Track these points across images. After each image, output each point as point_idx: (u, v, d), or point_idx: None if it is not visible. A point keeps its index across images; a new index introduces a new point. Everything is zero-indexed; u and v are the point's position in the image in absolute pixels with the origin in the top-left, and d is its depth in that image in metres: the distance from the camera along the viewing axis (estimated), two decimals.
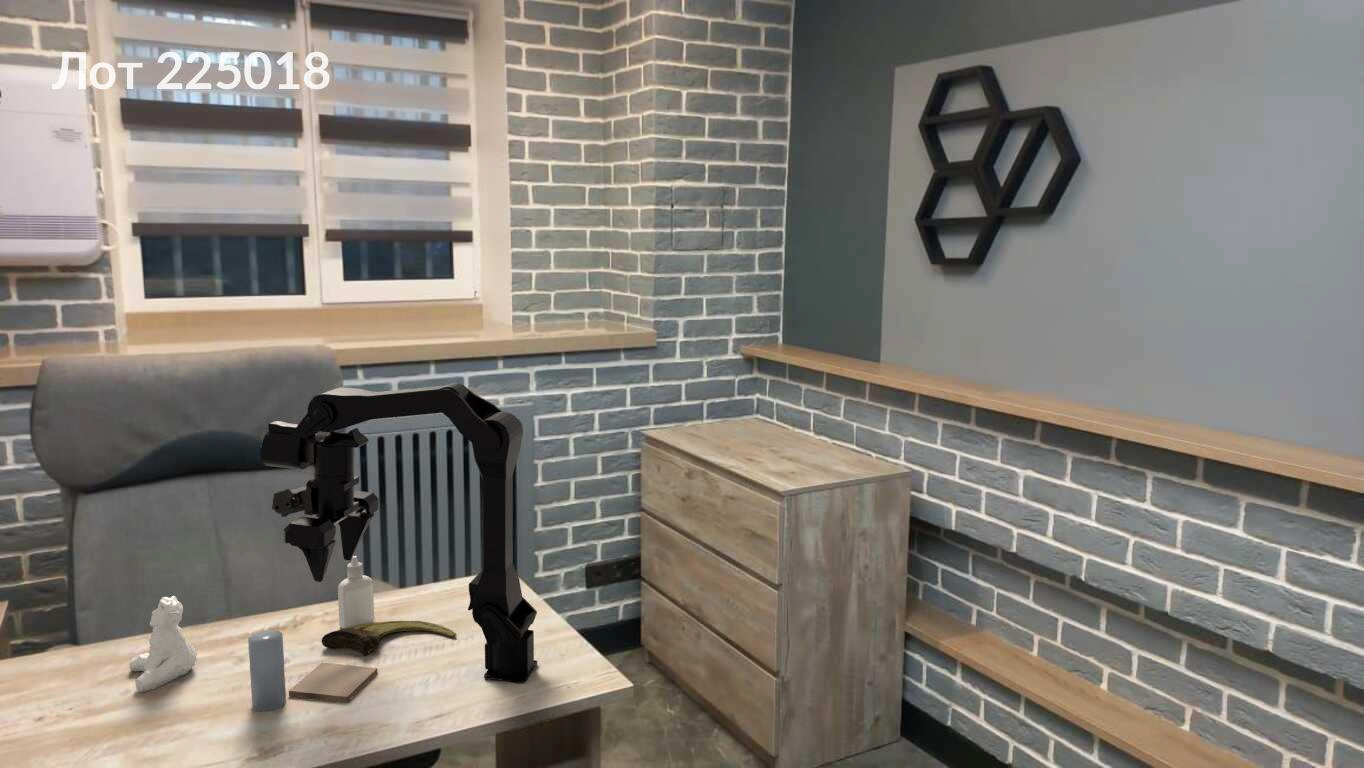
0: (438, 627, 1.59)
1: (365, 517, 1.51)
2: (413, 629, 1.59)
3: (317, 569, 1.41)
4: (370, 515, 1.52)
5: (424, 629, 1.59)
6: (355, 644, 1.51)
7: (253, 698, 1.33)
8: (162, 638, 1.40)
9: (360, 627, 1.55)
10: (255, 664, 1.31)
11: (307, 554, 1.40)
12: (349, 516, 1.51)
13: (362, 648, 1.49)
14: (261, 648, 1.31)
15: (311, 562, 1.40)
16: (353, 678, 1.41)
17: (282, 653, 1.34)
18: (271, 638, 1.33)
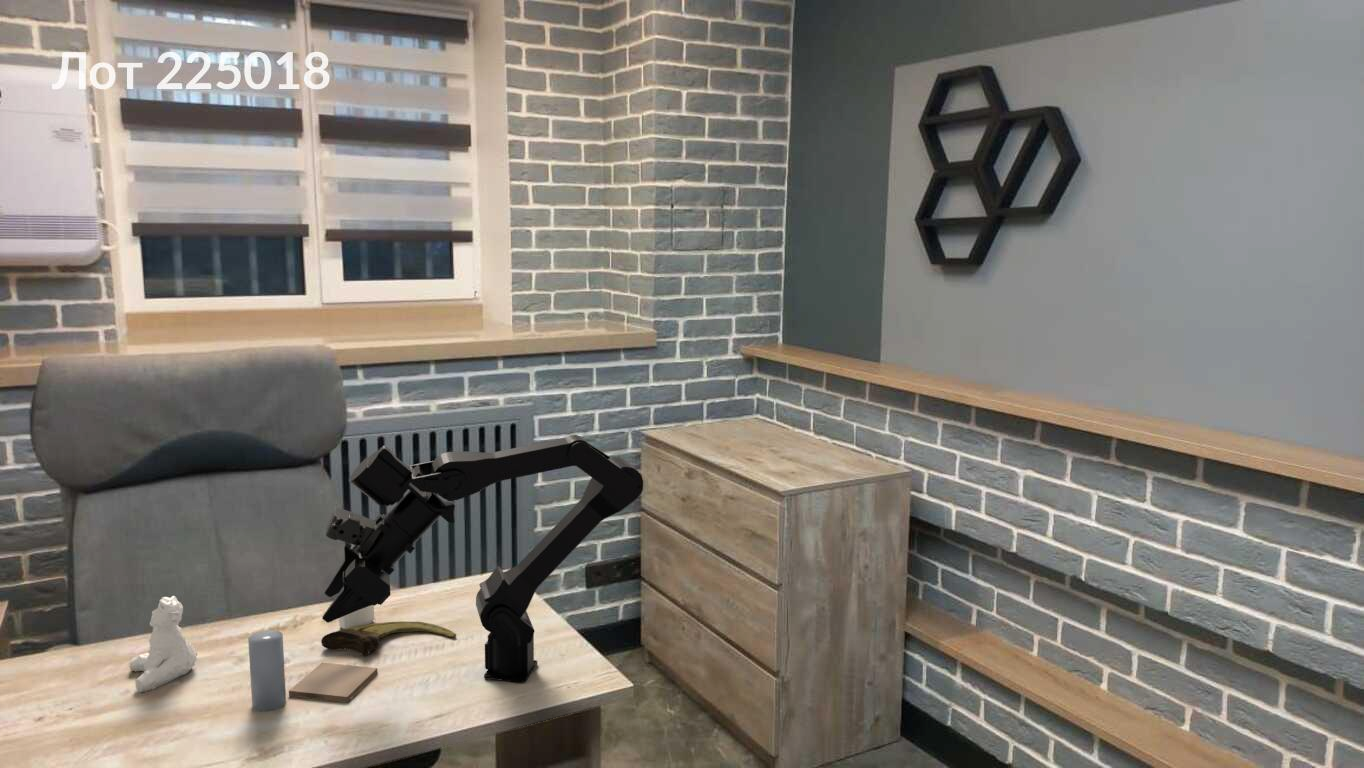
0: (438, 628, 1.59)
1: None
2: (413, 630, 1.58)
3: (337, 611, 1.30)
4: None
5: (424, 630, 1.58)
6: (355, 645, 1.51)
7: (253, 698, 1.33)
8: (162, 638, 1.40)
9: (360, 628, 1.54)
10: (255, 664, 1.31)
11: (343, 595, 1.29)
12: (360, 557, 1.41)
13: (362, 649, 1.49)
14: (261, 648, 1.31)
15: (339, 603, 1.30)
16: (353, 678, 1.41)
17: (282, 653, 1.34)
18: (272, 638, 1.33)
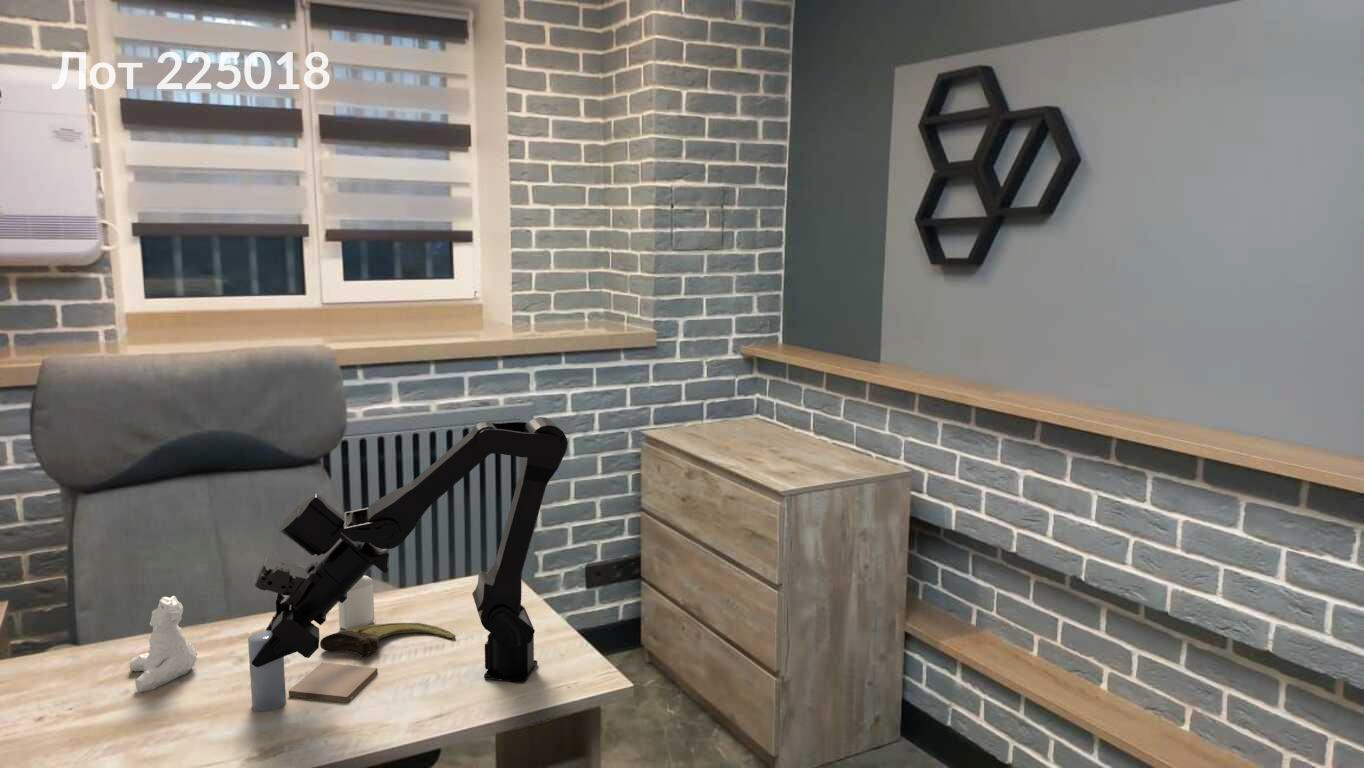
0: (437, 629, 1.58)
1: None
2: (412, 631, 1.58)
3: (266, 656, 1.30)
4: None
5: (423, 631, 1.58)
6: (354, 647, 1.50)
7: (253, 698, 1.33)
8: (162, 638, 1.40)
9: (359, 630, 1.54)
10: None
11: (272, 640, 1.29)
12: None
13: (361, 651, 1.49)
14: None
15: (268, 648, 1.30)
16: (353, 678, 1.41)
17: None
18: None
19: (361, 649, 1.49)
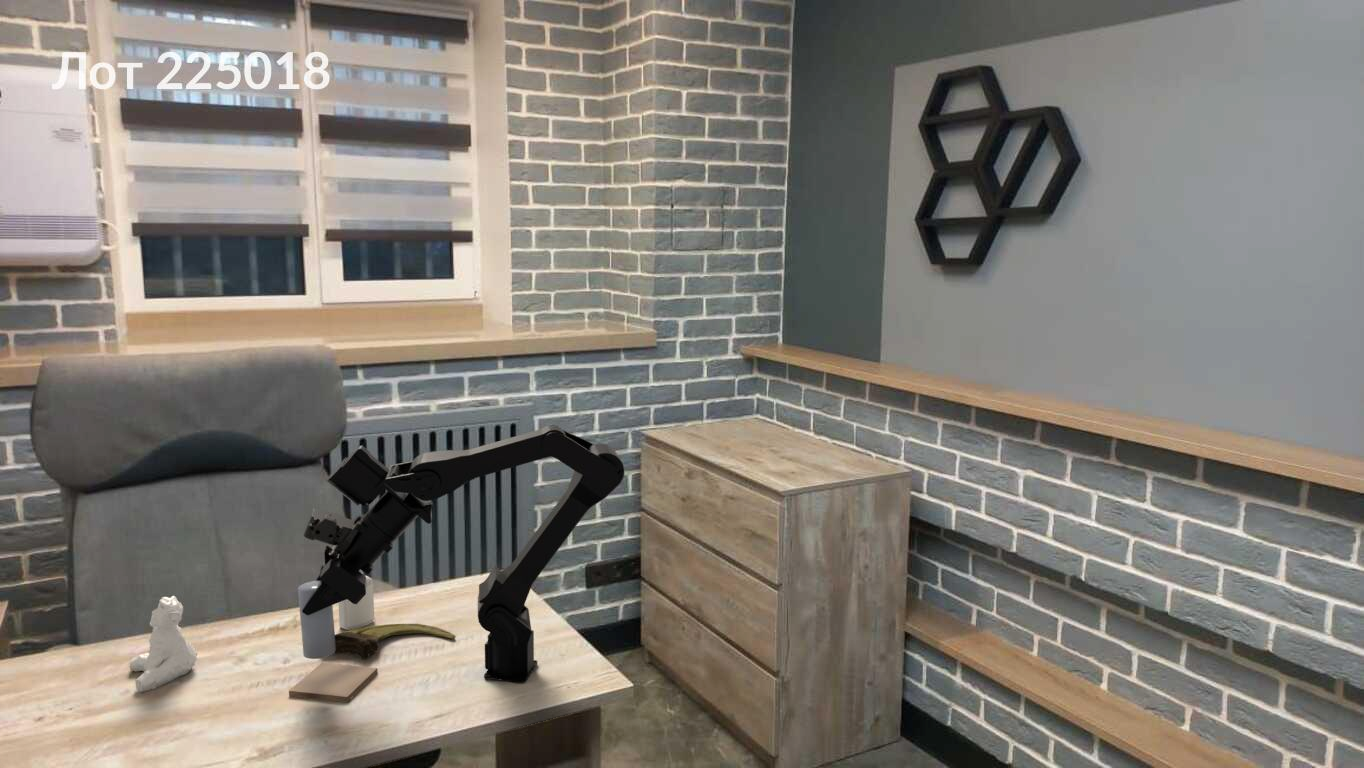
0: (436, 629, 1.58)
1: None
2: (411, 632, 1.58)
3: (316, 604, 1.34)
4: None
5: (422, 632, 1.58)
6: (354, 648, 1.50)
7: (304, 646, 1.36)
8: (162, 638, 1.40)
9: (358, 631, 1.53)
10: None
11: (321, 588, 1.33)
12: None
13: (362, 652, 1.48)
14: None
15: (317, 596, 1.33)
16: (353, 678, 1.41)
17: None
18: None
19: (361, 650, 1.48)
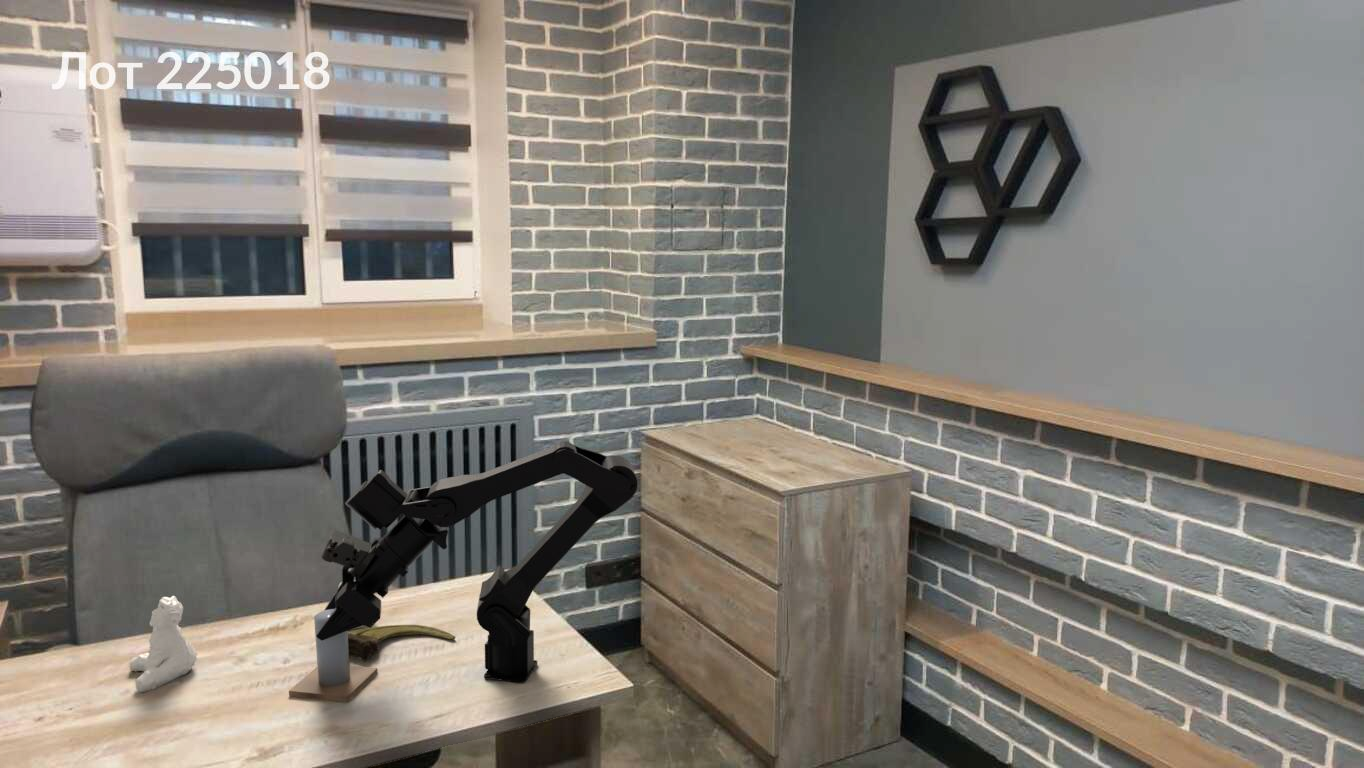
0: (436, 630, 1.58)
1: None
2: (410, 633, 1.57)
3: (331, 630, 1.34)
4: None
5: (422, 633, 1.57)
6: (354, 650, 1.49)
7: (319, 673, 1.38)
8: (162, 638, 1.40)
9: (357, 632, 1.53)
10: (320, 642, 1.37)
11: (336, 614, 1.33)
12: None
13: (362, 653, 1.48)
14: None
15: (332, 622, 1.34)
16: (353, 678, 1.41)
17: (346, 631, 1.39)
18: None
19: (361, 652, 1.48)
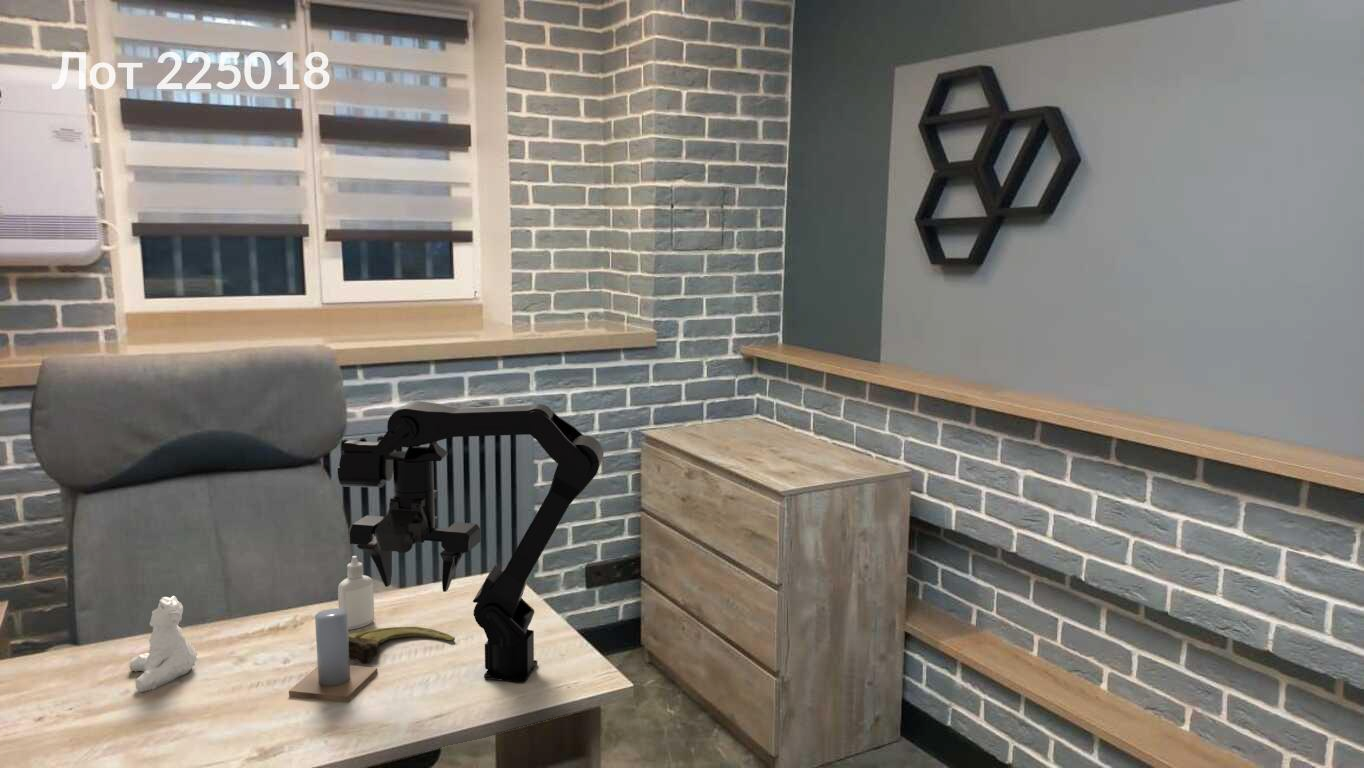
0: (435, 632, 1.57)
1: None
2: (409, 635, 1.56)
3: (451, 576, 1.43)
4: None
5: (421, 635, 1.56)
6: (353, 653, 1.48)
7: (319, 673, 1.38)
8: (162, 638, 1.40)
9: (356, 635, 1.52)
10: (321, 640, 1.37)
11: (452, 563, 1.41)
12: None
13: (362, 656, 1.47)
14: (327, 625, 1.37)
15: (450, 571, 1.42)
16: (353, 678, 1.41)
17: (347, 630, 1.39)
18: (337, 615, 1.38)
19: (362, 655, 1.47)
